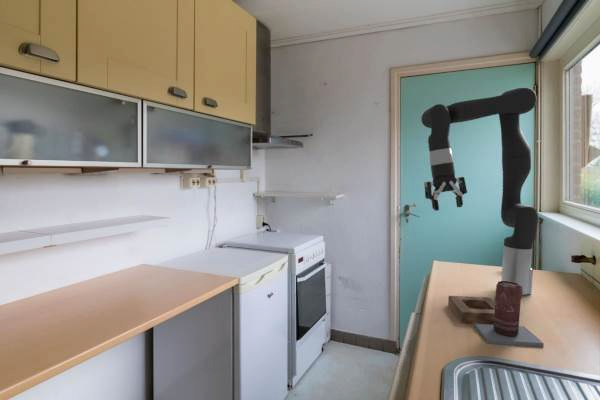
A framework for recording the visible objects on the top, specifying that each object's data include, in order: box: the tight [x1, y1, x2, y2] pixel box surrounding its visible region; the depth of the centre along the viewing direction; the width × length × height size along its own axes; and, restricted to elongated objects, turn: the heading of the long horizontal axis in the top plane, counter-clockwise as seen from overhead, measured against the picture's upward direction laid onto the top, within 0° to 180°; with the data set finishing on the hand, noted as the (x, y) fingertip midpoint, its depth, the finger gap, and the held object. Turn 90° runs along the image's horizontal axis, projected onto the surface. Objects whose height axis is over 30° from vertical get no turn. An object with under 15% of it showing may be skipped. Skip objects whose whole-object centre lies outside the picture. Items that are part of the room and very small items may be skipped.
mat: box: [473, 324, 545, 348], centre depth 101 cm, size 14×10×1 cm
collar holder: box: [447, 295, 495, 325], centre depth 115 cm, size 14×14×4 cm
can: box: [493, 280, 523, 337], centre depth 101 cm, size 6×6×14 cm
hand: (448, 208), depth 126 cm, fingers open, 8 cm apart
